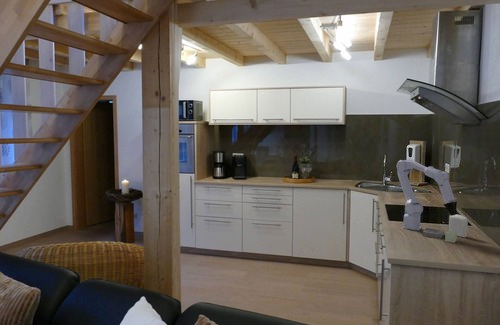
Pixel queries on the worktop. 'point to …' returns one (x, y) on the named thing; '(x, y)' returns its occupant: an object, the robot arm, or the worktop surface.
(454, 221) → the photo printer
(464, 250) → the worktop surface
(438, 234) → the grey block
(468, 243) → the worktop surface
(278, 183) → the worktop surface
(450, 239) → the green cube
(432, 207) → the worktop surface
